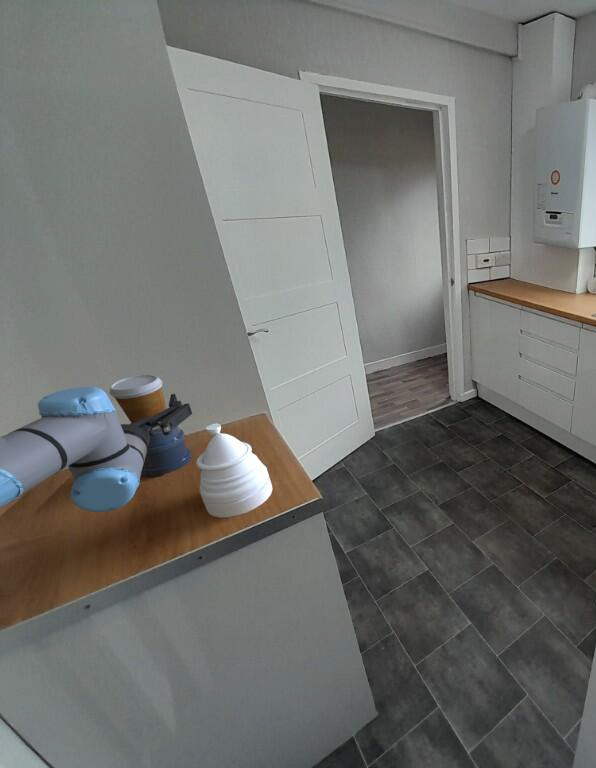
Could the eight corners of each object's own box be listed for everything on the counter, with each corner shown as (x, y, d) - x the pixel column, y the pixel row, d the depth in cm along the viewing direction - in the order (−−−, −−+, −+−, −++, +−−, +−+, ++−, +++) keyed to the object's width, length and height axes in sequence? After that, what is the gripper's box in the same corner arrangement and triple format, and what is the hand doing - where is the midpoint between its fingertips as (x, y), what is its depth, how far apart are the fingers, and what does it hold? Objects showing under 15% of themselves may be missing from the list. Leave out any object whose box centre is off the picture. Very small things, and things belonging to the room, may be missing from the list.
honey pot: (196, 501, 91) (168, 433, 83) (255, 472, 101) (235, 408, 93) (222, 526, 85) (194, 454, 77) (283, 492, 94) (264, 426, 86)
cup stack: (132, 479, 98) (115, 440, 93) (152, 456, 107) (137, 419, 102) (183, 472, 101) (169, 433, 96) (198, 450, 110) (186, 414, 106)
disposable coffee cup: (118, 432, 97) (96, 386, 92) (161, 413, 105) (143, 371, 100) (144, 440, 94) (123, 393, 89) (186, 420, 102) (170, 377, 97)
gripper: (33, 489, 71) (67, 435, 87) (207, 447, 84) (208, 407, 100) (13, 453, 68) (51, 404, 84) (196, 415, 81) (199, 379, 97)
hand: (137, 406), depth 92 cm, fingers open, 13 cm apart
